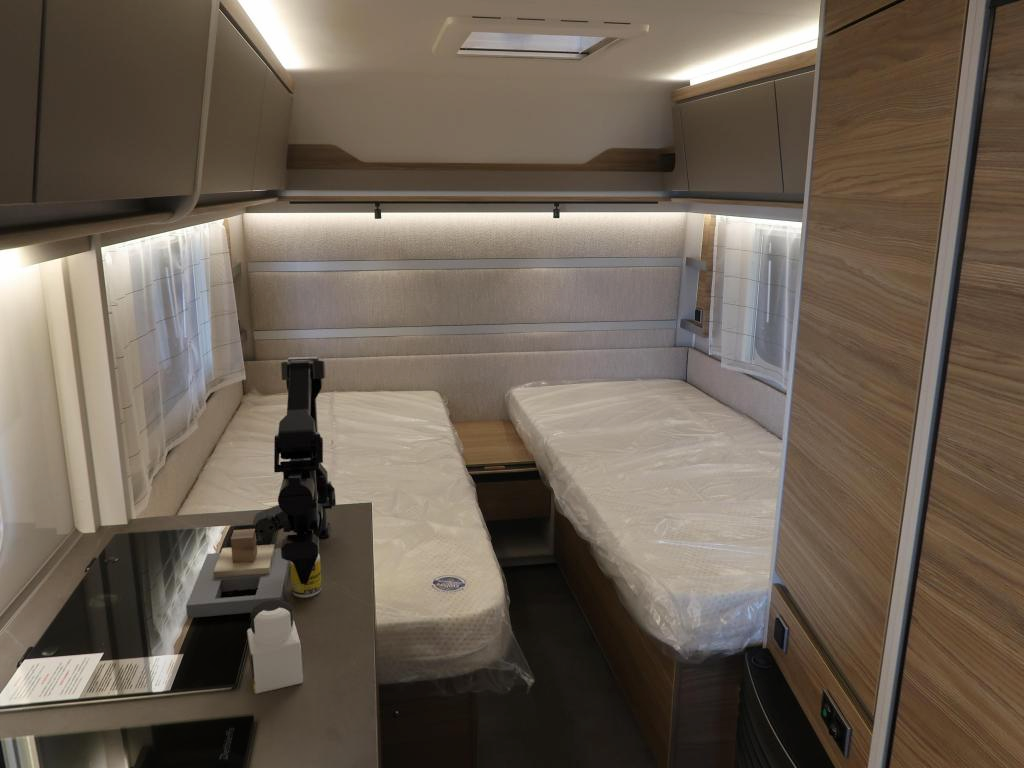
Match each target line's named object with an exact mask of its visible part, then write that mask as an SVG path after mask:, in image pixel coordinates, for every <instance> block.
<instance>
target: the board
mask: <svg viewBox="0 0 1024 768" xmlns="http://www.w3.org/2000/svg"><path fill="white" fill-rule="evenodd" d="M220 553H221V552H213V553H207V554H206V556H205V558H204V562H203V564H202V565H201V569H200V571H199V574H198V576H197V578H196V580H195V583H194V585H193V588H192V591H191V593H190V595H189V598H188V599H187V602H186V605H185V607H186V614H187V615H186V616H187V619H193V618H204V617H205V618H206V617H215V616H225V615H226V616H227V615H238V614H248V613H249V614H251V611H252V610H253V608H254V607H255V606H257V605H258V604H260V603H263V602H266V601H270V600H282V601H285V597H286V590H287V589H286V588H287V584H288V579H289V575H290V569H291V567H290V560H285V559H282V556H281V547H280V548H279V547H278V548H275V552H274V556H273V560H272V564H271V569H270V573H266V574H254V575H241V576H229V577H216V578H214V573H213V572H214V569H215V566H216V564H217V561H218V559H219V556H220ZM256 588H258V589H256ZM245 589H246V590H245ZM248 589H250V590H256V593H255V594H254V595H242V596H231V597H229V596H228V597H222V594H223V593H225V592H235V591H234V590H238V591H249V590H248Z"/></svg>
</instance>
